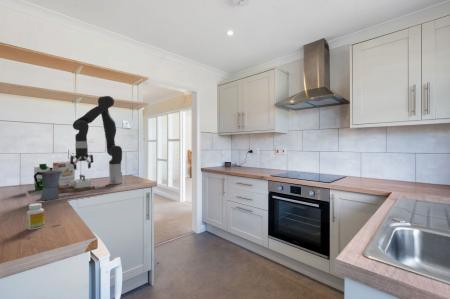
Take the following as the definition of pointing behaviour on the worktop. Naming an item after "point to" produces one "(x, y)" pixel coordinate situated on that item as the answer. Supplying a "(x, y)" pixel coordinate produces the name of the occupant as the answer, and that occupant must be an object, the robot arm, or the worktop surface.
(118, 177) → the robot arm
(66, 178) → the cracker box
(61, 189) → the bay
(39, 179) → the milk carton
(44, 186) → the moka pot
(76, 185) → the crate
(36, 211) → the supplement bottle
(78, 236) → the worktop surface
